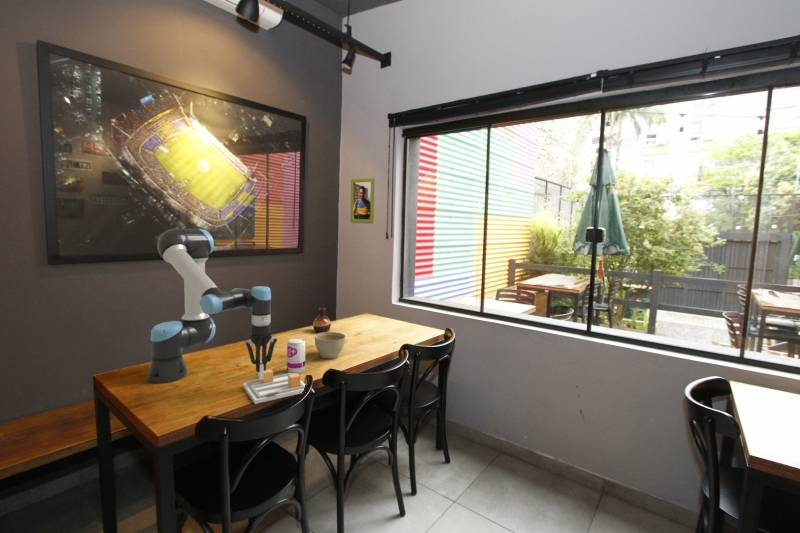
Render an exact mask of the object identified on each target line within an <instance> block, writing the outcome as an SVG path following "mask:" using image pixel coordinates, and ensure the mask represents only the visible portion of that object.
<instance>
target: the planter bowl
mask: <svg viewBox="0 0 800 533" xmlns="http://www.w3.org/2000/svg"><path fill="white" fill-rule="evenodd" d="M345 341H346V334H344V333H341V332H335V331H328V332H323V333H316V334H315V335H314V344H315V348H316V350H317V352H318V353H319V354H320V355H319V356H320V357H321V358H323V359H335V358H338V357H339V354H340V353H341V352H342V350H343V348H344V346H345Z"/></svg>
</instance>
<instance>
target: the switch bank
mask: <svg viewBox="0 0 800 533" xmlns="http://www.w3.org/2000/svg"><path fill="white" fill-rule="evenodd" d="M291 374H292V373H288V372H287V373H283V372H281V373H275V374H273V382H269V383H264V384H263V383H262V382H261V380H260V379H259V378H258V379H253V380H248V381H246V382H244V383H242V388H243V389H244V390H245V392H246V394H248V396H249V398H250V399H251V401H252V402H253V404H255V405H256V404H260V403H265V402H270V401H274V400H278V399H282V398H287V397H292V396H295V395H300V394H303V393H302V392H303V391H304V388H305V385H306V383H304V382H303V380H301V379H300V387H295V388H289V387H288V375H291ZM293 374H294V373H293Z"/></svg>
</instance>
